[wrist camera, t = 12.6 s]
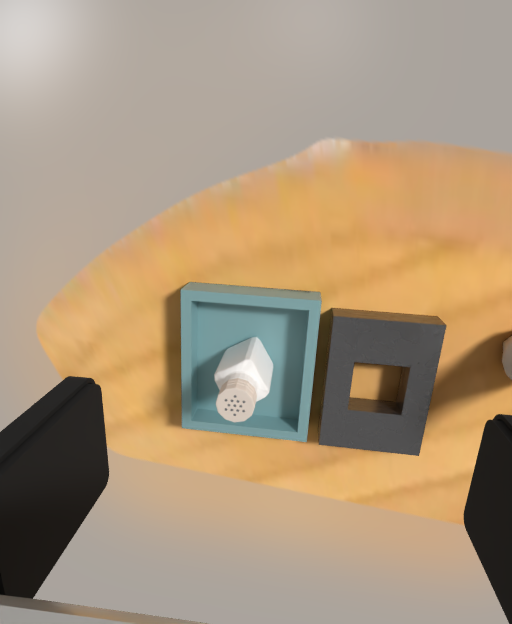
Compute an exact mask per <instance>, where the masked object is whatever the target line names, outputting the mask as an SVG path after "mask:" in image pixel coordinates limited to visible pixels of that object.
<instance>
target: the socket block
mask: <svg viewBox="0 0 512 624" xmlns="http://www.w3.org/2000/svg"><path fill="white" fill-rule="evenodd" d="M445 329H446V324H445V323H444V322H443V321H442V320H441V319H440V318H439V317H437V316H425V315H413V314H400V313H388V312H376V311H364V310H351V309H339V308H332V313H331V322H330V331H329V340H328V348H327V357H326V366H325V375H324V383H323V392H322V401H321V409H320V418H319V427H318V438H319V445H327V446H336V447H345V448H354V449H363V450H372V451H381V452H390V453H398V454H407V455H416V456H419V453H420V448H421V443H422V439H423V434H424V429H425V424H426V420H427V415H428V410H429V405H430V401H431V396H432V391H433V386H434V382H435V377H436V372H437V367H438V363H439V358H440V353H441V348H442V344H443V339H444V334H445ZM354 362H360V363H371V364H382V365H393V366H403V367H402V372H401V378H400V383H399V389H398V394H397V400H396V402H390V401H380V400H370V399H360V398H351V397H350V389H351V382H352V375H353V368H354Z"/></svg>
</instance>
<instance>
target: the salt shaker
mask: <svg viewBox="0 0 512 624" xmlns="http://www.w3.org/2000/svg"><path fill="white" fill-rule="evenodd" d="M502 364H503V367H504V370H505V373H506V375H507V376H508V377H509V378H510V379H511V380H512V335H511V336H510V337H509V338H508V339H507V340H505V341H504V342H503V355H502Z"/></svg>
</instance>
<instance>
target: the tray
mask: <svg viewBox="0 0 512 624" xmlns="http://www.w3.org/2000/svg"><path fill="white" fill-rule="evenodd" d="M320 311H321V294H320V292H312V291H299V290H286V289H273V288H261V287H248V286H235V285H222V284H209V283H196V282H189V283H188V284H187V285H185V286H184V287H183V288H182V289H181V381H182V428H186V429H195V430H204V431H213V432H222V433H231V434H240V435H249V436H258V437H266V438H275V439H284V440H293V441H302V442H307V434H308V424H309V415H310V405H311V396H312V386H313V377H314V367H315V358H316V348H317V339H318V329H319V320H320ZM252 337H257V338H258V339H260V341H261V342H262V344H263V346H264V348H265V350H266V352H267V353H268V355H269V357H270V359H271V361H272V362H273V373H272V379H271V385H270V391H269V393H268V395H267V396H266V397H265V398H263V399H261V400H259V401H257V402H256V404H255V408H254V411H253V414H252V416H250V417H249V418H248V419H247V420H245V421H242V422H232V421H229V420H226V419H224V418H223V417H222V416H221V415H220V414H219V413H218V410H217V407H216V400H217V397H218V394H219V391H220V390H219V388H218V386H217V384H216V382H215V377H214V374H215V372H216V370H217V368H218V366H219V363H220V361H221V359H222V357H223V355H224V353H225V351H226V350H227V349H228V348H230V347H232V346H234V345H236V344H239V343H241V342H243V341H245V340H247V339H250V338H252Z"/></svg>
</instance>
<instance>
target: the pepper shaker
mask: <svg viewBox="0 0 512 624" xmlns="http://www.w3.org/2000/svg"><path fill="white" fill-rule="evenodd" d="M272 373H273V362H272V361H271V359H270V357H269V355H268V353H267V352H266V350H265V348H264V346H263V344H262V342H261V341H260V339H258V338H257V337H252V338H250V339H247V340H245V341H243V342H241V343H239V344H236V345H234V346H232V347H230V348H228V349H227V350H226V351H225V353H224V355H223V357H222V359H221V361H220V363H219V366H218V368H217V370H216V372H215V374H214V377H215V382H216V384H217V386H218V388H219V390H220V391H219V394H218V397H217V400H216V407H217V410H218V413H219V414H220V415H221V416H222V417H223V418H224V419H226V420H229V421H232V422H242V421H245V420H247V419H248V418H249V417H250V416H252V414H253V411H254V408H255V404H256V402H257V401H259V400H261V399H263V398H265V397H266V396H267V395H268V393H269V391H270V385H271V379H272Z"/></svg>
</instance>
